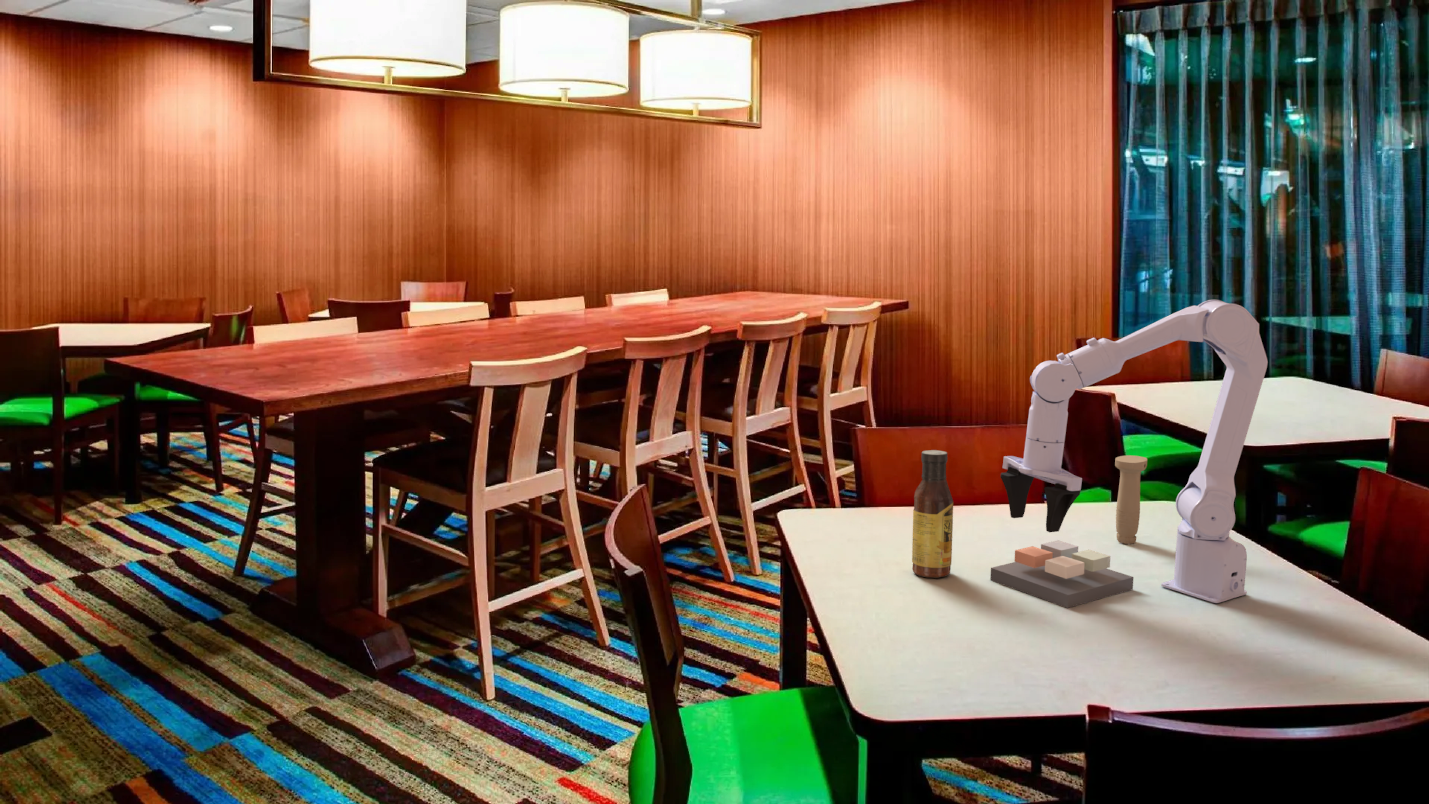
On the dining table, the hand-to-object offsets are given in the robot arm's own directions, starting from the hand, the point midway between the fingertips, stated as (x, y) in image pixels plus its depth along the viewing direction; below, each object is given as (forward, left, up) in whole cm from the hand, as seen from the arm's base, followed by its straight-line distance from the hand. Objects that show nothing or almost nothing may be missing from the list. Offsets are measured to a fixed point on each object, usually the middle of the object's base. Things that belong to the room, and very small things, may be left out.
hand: (1034, 524), depth 167 cm
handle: (+5, -30, -9) cm, 32 cm away
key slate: (-1, -5, -6) cm, 8 cm away
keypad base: (-4, -2, -9) cm, 10 cm away
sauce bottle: (+11, +11, -9) cm, 18 cm away
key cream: (-7, +1, -6) cm, 9 cm away
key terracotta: (-1, +1, -6) cm, 6 cm away
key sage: (-7, -5, -6) cm, 10 cm away
